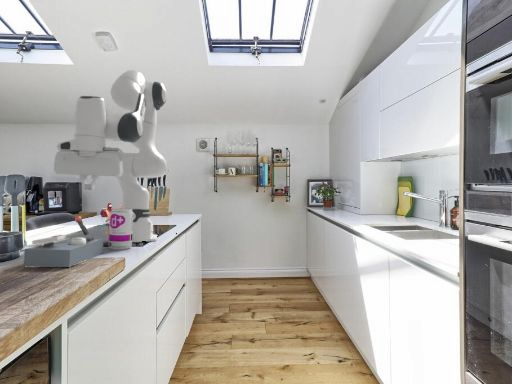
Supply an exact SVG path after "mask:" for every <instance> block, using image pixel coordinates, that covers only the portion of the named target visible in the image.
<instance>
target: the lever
mask: <svg viewBox="0 0 512 384" xmlns="http://www.w3.org/2000/svg"><path fill="white" fill-rule="evenodd" d="M74 221H75V223H77V224H78V226H79V227H80V230H81V231H82V233H83V235H84V236H87V235H89V234H90V233H89V231H88V229H87V227H86V225H85V224H84V222H83V218H82V216H76V217H75V218H74Z"/></svg>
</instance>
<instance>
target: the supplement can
mask: <svg viewBox="0 0 512 384" xmlns="http://www.w3.org/2000/svg"><path fill="white" fill-rule="evenodd" d="M108 225H109V228H108V229H109V230H108V248H109V249H110V250H115V251H119V250H120V251H121V250H122V251H123V250H129V249H131V248H132V247H133V242H132V232H133V212H132V209H122V208H111V211H110V212H109V224H108Z"/></svg>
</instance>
